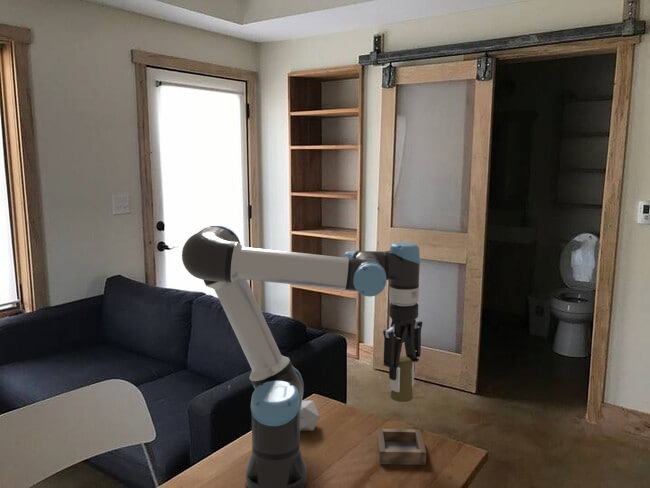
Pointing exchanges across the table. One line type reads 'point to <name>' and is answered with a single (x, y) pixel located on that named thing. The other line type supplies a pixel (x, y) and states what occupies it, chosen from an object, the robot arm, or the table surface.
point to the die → (308, 416)
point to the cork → (404, 381)
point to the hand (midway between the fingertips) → (401, 387)
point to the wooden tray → (401, 447)
